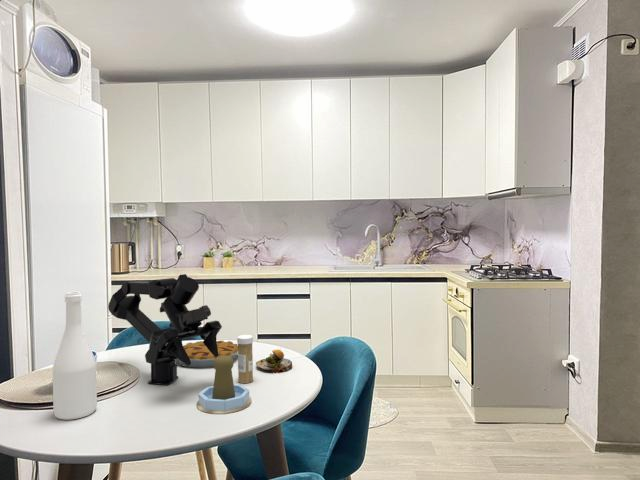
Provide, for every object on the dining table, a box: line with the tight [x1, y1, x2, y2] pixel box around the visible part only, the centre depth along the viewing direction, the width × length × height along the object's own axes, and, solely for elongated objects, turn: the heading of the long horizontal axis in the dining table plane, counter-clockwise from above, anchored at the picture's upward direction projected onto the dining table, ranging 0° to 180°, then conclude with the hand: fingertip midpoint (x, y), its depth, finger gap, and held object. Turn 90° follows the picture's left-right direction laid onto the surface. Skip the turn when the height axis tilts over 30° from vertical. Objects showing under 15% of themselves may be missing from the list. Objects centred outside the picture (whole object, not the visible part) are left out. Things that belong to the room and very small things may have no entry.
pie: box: [177, 340, 238, 369], centre depth 160 cm, size 22×22×5 cm
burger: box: [255, 348, 293, 374], centre depth 151 cm, size 12×12×8 cm
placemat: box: [196, 395, 252, 415], centre depth 122 cm, size 14×14×1 cm
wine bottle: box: [52, 291, 98, 421], centre depth 115 cm, size 10×10×30 cm
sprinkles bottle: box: [236, 334, 254, 384], centre depth 138 cm, size 5×5×14 cm
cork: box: [212, 356, 235, 400], centre depth 121 cm, size 6×6×11 cm
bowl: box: [198, 383, 250, 411], centre depth 122 cm, size 12×12×2 cm
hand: (204, 360), depth 126 cm, fingers open, 9 cm apart
